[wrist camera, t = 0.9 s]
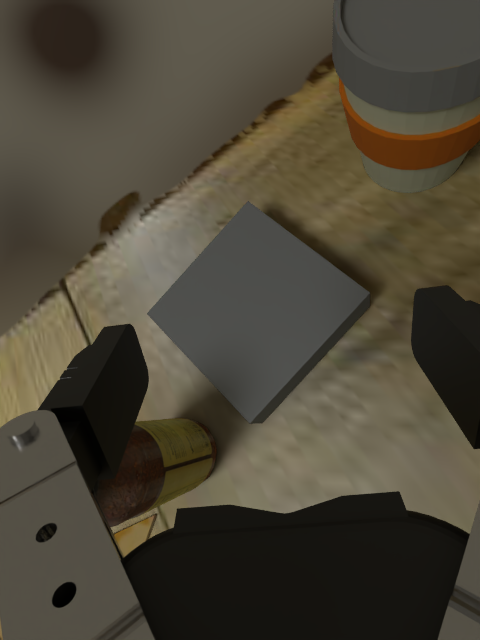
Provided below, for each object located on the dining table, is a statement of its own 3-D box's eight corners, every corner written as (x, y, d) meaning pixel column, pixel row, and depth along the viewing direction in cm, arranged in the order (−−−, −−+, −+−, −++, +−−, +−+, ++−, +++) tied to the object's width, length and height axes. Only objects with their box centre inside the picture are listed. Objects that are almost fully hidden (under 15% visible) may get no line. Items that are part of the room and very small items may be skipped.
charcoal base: (259, 221, 40) (248, 201, 36) (369, 306, 34) (370, 292, 31) (167, 323, 40) (146, 313, 36) (262, 423, 35) (249, 423, 31)
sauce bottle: (161, 417, 38) (-34, 415, 19) (221, 419, 36) (69, 418, 18) (155, 490, 36) (-62, 562, 18) (218, 495, 34) (48, 583, 16)
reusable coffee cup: (316, 171, 39) (287, 34, 25) (397, 73, 39) (413, -118, 25) (428, 235, 34) (469, 110, 20) (521, 124, 34) (626, -79, 20)
